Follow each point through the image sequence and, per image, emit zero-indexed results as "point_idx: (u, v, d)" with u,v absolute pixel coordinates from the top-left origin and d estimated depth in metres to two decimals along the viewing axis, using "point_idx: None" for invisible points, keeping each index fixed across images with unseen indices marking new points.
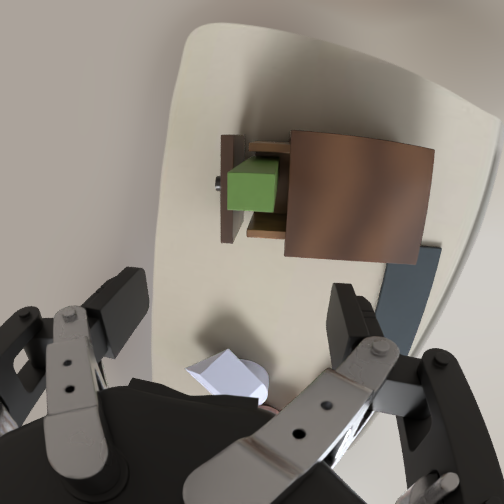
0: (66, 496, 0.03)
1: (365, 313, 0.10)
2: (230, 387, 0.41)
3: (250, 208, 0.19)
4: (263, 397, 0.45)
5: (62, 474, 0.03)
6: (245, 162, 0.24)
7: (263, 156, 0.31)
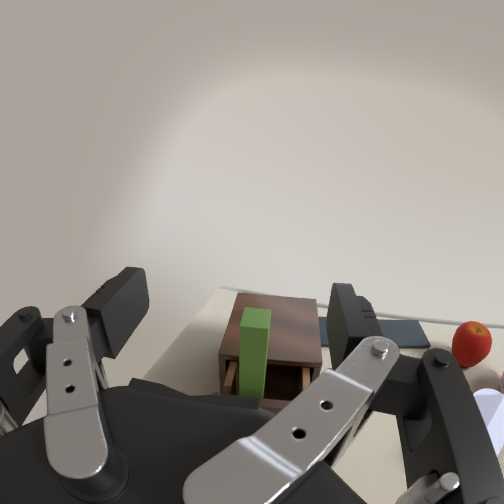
0: (66, 496, 0.03)
1: (365, 313, 0.10)
2: (486, 408, 0.25)
3: (268, 318, 0.26)
4: (487, 390, 0.30)
5: (62, 474, 0.03)
6: (239, 375, 0.28)
7: None
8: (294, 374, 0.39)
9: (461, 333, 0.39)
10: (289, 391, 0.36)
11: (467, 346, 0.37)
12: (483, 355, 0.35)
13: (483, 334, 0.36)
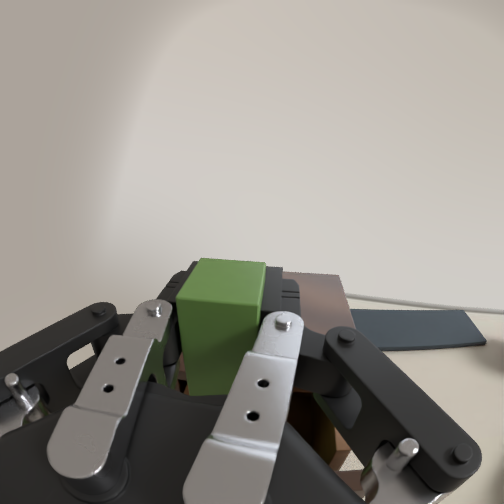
0: (66, 496, 0.03)
1: (290, 293, 0.11)
2: None
3: (257, 280, 0.10)
4: None
5: (62, 474, 0.03)
6: None
7: None
8: (308, 399, 0.22)
9: None
10: (300, 429, 0.19)
11: None
12: None
13: None
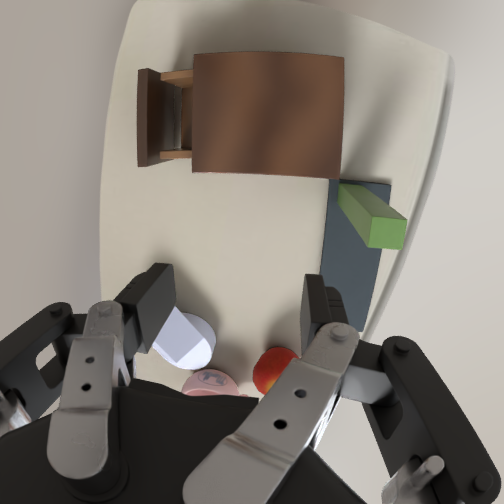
0: (66, 496, 0.03)
1: (333, 302, 0.11)
2: (168, 338, 0.40)
3: (385, 246, 0.22)
4: (207, 355, 0.43)
5: (62, 474, 0.03)
6: (356, 197, 0.27)
7: (350, 185, 0.34)
8: None
9: (282, 366, 0.39)
10: None
11: (264, 364, 0.40)
12: None
13: (266, 388, 0.40)
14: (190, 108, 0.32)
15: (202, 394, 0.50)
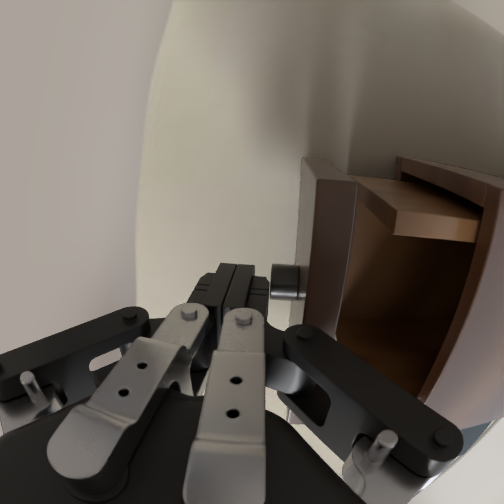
0: (66, 496, 0.03)
1: (258, 291, 0.11)
2: None
3: None
4: None
5: (62, 474, 0.03)
6: None
7: None
8: None
9: None
10: (420, 307, 0.16)
11: None
12: None
13: None
14: (365, 243, 0.15)
15: None
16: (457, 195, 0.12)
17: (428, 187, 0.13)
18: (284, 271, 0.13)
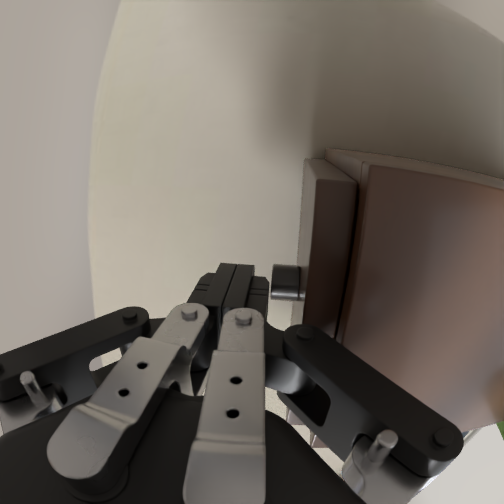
0: (66, 496, 0.03)
1: (258, 291, 0.11)
2: None
3: None
4: None
5: (62, 474, 0.03)
6: None
7: None
8: None
9: None
10: None
11: None
12: None
13: None
14: None
15: None
16: None
17: None
18: (285, 271, 0.13)
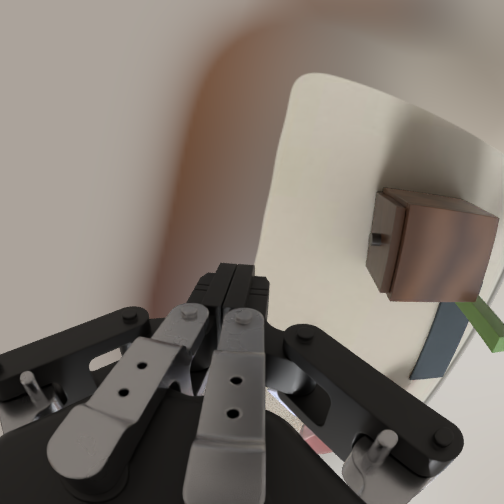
0: (66, 496, 0.03)
1: (258, 291, 0.11)
2: None
3: (499, 350, 0.27)
4: None
5: (62, 474, 0.03)
6: (479, 309, 0.32)
7: None
8: None
9: None
10: None
11: None
12: None
13: None
14: None
15: None
16: None
17: None
18: (376, 234, 0.34)
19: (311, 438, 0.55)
